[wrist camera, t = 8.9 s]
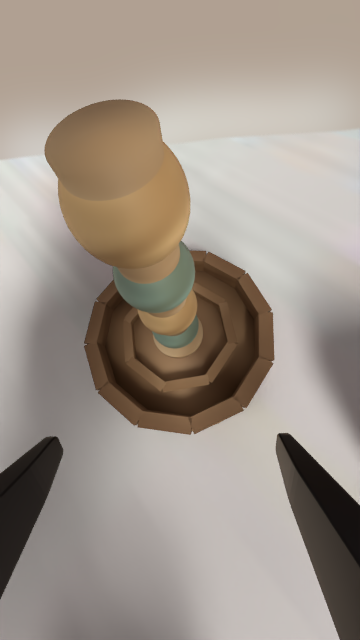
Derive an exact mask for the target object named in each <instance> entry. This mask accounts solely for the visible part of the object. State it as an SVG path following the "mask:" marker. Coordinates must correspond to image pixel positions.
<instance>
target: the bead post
mask: <svg viewBox="0 0 360 640" xmlns="http://www.w3.org/2000/svg"><path fill="white" fill-rule="evenodd" d="M45 157H46V160H47V162H48V163H49V165H50V166H51V168H52V169H53V171H54V172H55V174H56V176H57V177H58V196H59V202H60V207H61V210H62V214H63V217H64V219H65V221H66V224H67V226H68V228H69V230H70V231H71V233H72V234H73V236H74V237H75V238H76V240H77V241H78V242H79V243H80V244H81V246H82V247H83V248H84V249H85V250H86V251H88V252H89V253H90V254H91V255H93V256H94V257H95V258H97V259H99V260H101V261H103V262H105V263H106V264H109V265H112V266H113V277H114V282H115V285H116V288H117V290H118V292H119V293H120V295H121V296H122V297H123V299H124V300H125V301H126V302H127V303H129V304H130V305H131V306H133V307H134V308H136V309H138V314H139V317H140V319H141V321H142V322H143V324H144V325H145V326H146V327H147V328H148V329H149V330H151V331H152V333H153V339H154V342H155V344H156V346H157V347H158V349H159V350H160V351H161V352H162V353H163V354H165V355H167V356H169V357H172V358H184V357H187V356H189V355H191V354H193V353H194V352H195V351H196V350H197V349H198V348H199V346H200V344H201V342H202V339H203V327H202V324H201V321H200V320H199V318H198V317H197V315H196V312H197V299H196V295H195V293H194V291H193V289H192V287H193V284H194V279H195V266H194V261H193V258H192V255H191V253H190V251H189V250H188V248H187V247H186V245H185V244H184V243H183V242H182V241H181V239H182V238H183V236H184V233H185V231H186V228H187V225H188V221H189V215H190V193H189V187H188V183H187V179H186V176H185V173H184V171H183V169H182V167H181V165H180V163H179V161H178V159H177V158H176V156H175V155H174V153H173V152H172V151H171V150H170V148H169V147H168V146H167V145H166V144H165V143H164V142H163V141H162V135H161V128H160V122H159V119H158V117H157V115H156V114H155V112H154V111H153V110H152V109H151V108H149V107H148V106H146V105H144V104H142V103H139V102H135V101H130V100H108V101H102V102H98V103H94V104H91V105H89V106H86V107H84V108H81V109H79V110H77V111H75V112H73V113H72V114H70V115H68V116H67V117H66V118H65V119H63V120H62V121H61V122H60V123H59V124H57V126H56V127H55V128H54V129H53V130H52V132H51V133H50V135H49V136H48V139H47V141H46V144H45Z"/></svg>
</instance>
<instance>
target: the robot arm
mask: <svg viewBox="0 0 360 640" xmlns="http://www.w3.org/2000/svg"><path fill="white" fill-rule="evenodd" d="M276 454H277V458H278V462H279V465H280V469H281V473H282V477H283V480H284V484H285V488H286V492H287V495H288V499H289V502H290V505H291V508H292V511H293V513H294V516H295V519H296V522H297V524H298V527H299V530H300V532H301V535H302V538H303V541H304V543H305V546H306V549H307V551H308V554H309V557H310V560H311V562H312V565H313V568H314V571H315V573H316V576H317V579H318V581H319V584H320V587H321V590H322V592H323V595H324V598H325V600H326V603H327V606H328V609H329V611H330V614H331V617H332V619H333V622H334V625H335V628H336V630H337V633H338V636H339V639H340V640H360V505H359V504H358V503H357V502H356V501H355V500H354V499H353V498H352V497H351V496H350V495H349V494H348V493H347V492H346V491H345V490H344V489H343V488H342V487H341V486H340V485H339V484H338V483H337V482H336V481H335V480H334V479H333V478H332V476H331V475H330V474H329V473H328V472H327V471H326V470H325V469H324V468H323V467H322V466H321V465H320V464H319V463H318V462H317V461H316V460H315V459H314V458H313V457H312V456H311V455H310V454H309V453H308V452H307V451H306V450H305V449H304V448H303V447H302V446H301V445H300V444H299V443H298V442H297V441H296V440H295V439H294V438H293V437H292V436H291V435H290V434H288V433H279V434H278V435H277V441H276ZM62 455H63V448H62V446H61V444H60V441H59V439H58V438H57V437H56V436H49V437H46V438H44V439H43V440H42V441H40V442H39V443H38V444H37V445H35V446H34V447H33V448H32V449H30V450H29V451H28V452H27V453H25V454H24V455H23V456H22V457H20V458H19V459H18V460H17V461H15V462H14V463H13V464H12V465H10V466H9V467H8V468H7V469H5V470H4V471H3V472H2V473H0V599H1V597H2V594H3V592H4V590H5V588H6V586H7V584H8V581H9V579H10V577H11V575H12V573H13V571H14V568H15V566H16V564H17V562H18V560H19V557H20V555H21V553H22V551H23V549H24V547H25V544H26V542H27V540H28V538H29V536H30V533H31V531H32V529H33V527H34V525H35V523H36V520H37V518H38V516H39V514H40V512H41V510H42V507H43V505H44V503H45V501H46V498H47V496H48V493H49V491H50V488H51V485H52V483H53V480H54V477H55V474H56V472H57V469H58V466H59V463H60V461H61V458H62Z"/></svg>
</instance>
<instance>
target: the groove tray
mask: <svg viewBox="0 0 360 640" xmlns="http://www.w3.org/2000/svg"><path fill="white" fill-rule="evenodd" d="M190 253H191V255H192V258H193V261H194V266H195V279H194V284H193V287H192V289H193V291H194V293H195V295H196V299H197V312H196V315H197V317H198V318H199V320H200V321H201V324H202V327H203V339H202V342H201V344H200V346H199V348H198V349H197V350H196V351H195V352H194V353H193V354H191V355H189V356H187V357H184V358H172V357H169V356H167V355H165V354H163V353H162V352H161V351H160V350H159V349H158V347H157V346H156V344H155V342H154V339H153V333H152V331H151V330H149V329H148V328H147V327H146V326H145V325H144V324H143V322H142V321H141V319H140V317H139V314H138V309H136V308H134V307H133V306H131V305H130V304H129V303H127V302H126V301H125V300H124V299H123V297H122V296H121V295H120V293H119V292H118V290H117V288H116V285H115V282H114V280H113V281H112V282H111V283H110V284H109V285H108V287H107V288H106V289H105V290H104V291H103V292H102V293H101V294H100V296H99V297H98V298H97V300H98V301H99V302H95V303H94V307H93V311H92V315H91V319H90V322H89V326H88V330H87V334H86V338H85V341H84V343H85V344H87V345H85V346H84V348H85V351H86V355H87V359H88V362H89V366H90V370H91V373H92V377H93V381H94V384H95V388H96V390H99V392H98V393H99V394H100V395H101V396H102V397H103V398H104V399H105V400H106V401H108V402H109V403H110V404H111V405H112V406H113V407H114V408H115V409H116V410H118V411H119V412H120V413H121V414H122V415H123V416H124V417H125V418H126V419H128V420H129V421H130V422H131V423H132V424H133V425H134V426H135V425H137V424H138V427H140V428H147V429H154V430H161V431H168V432H175V433H182V434H189V435H191V432H192V431H193V432H194V434H196V433H198V432H200V431H202V430H204V429H206V428H208V427H210V426H212V425H215V424H217V423H220V422H221V421H223V420H225V419H227V418H229V417H231V416H233V415H235V414H237V413H240V412H242V411H244V410H243V408H242V407H245V408H247V406H248V405H249V403H250V401H251V400H252V398H253V396H254V395H255V393H256V391H257V390H258V388H259V386H260V385H261V383H262V381H263V380H264V378H265V376H266V375H267V373H268V372H269V370H270V368H271V367H272V365H273V363H272V361H273V360H274V336H273V312H270V311H271V310H272V309H271V308H270V306H269V305H268V303H267V302H266V300H265V299H264V297H263V295H262V294H261V292H260V291H259V289H258V288H257V286H256V285H255V283H254V282H253V280H252V279H251V277H250V276H249V274H248V273H247V274H245V271H244V270H242V269H241V268H239V267H237V266H235V265H233V264H231V263H229V262H227V261H225V260H223V259H222V258H220V257H218V256H216V255H214V254H212V253H210V252H208V253H207V255H206V251H190Z"/></svg>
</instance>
